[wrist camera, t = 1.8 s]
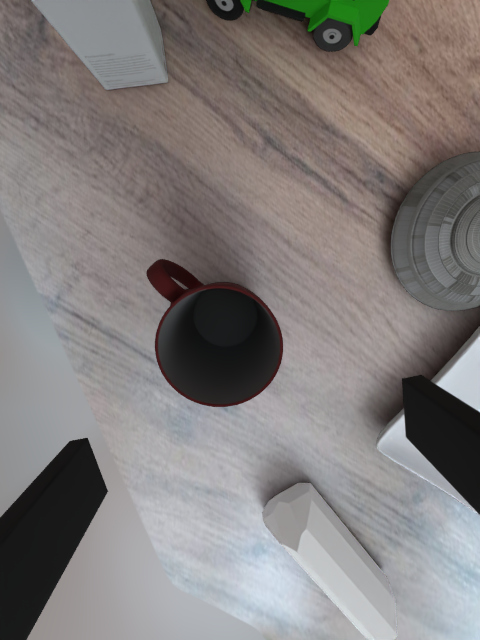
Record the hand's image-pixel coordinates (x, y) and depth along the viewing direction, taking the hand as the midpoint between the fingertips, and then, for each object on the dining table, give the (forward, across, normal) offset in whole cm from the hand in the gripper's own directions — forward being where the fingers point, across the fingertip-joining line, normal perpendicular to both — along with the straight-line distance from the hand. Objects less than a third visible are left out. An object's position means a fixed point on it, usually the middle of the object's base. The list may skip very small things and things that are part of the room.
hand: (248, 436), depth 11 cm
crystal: (+19, +5, -32) cm, 38 cm away
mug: (+19, -2, +3) cm, 19 cm away
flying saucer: (+19, +24, +5) cm, 31 cm away
